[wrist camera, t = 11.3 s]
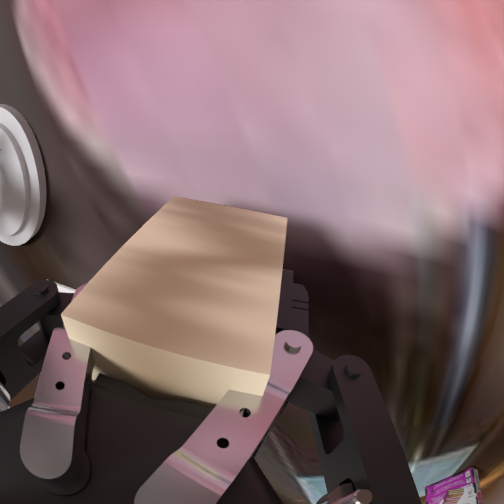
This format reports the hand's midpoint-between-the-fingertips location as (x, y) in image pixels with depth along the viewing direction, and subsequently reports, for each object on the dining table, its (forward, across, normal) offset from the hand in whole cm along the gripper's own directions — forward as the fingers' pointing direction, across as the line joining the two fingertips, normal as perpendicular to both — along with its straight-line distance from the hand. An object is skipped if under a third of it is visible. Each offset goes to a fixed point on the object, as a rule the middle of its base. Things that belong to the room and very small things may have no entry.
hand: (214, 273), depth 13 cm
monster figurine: (+5, +20, -1) cm, 21 cm away
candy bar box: (+4, -48, +43) cm, 65 cm away
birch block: (+1, 0, 0) cm, 1 cm away
